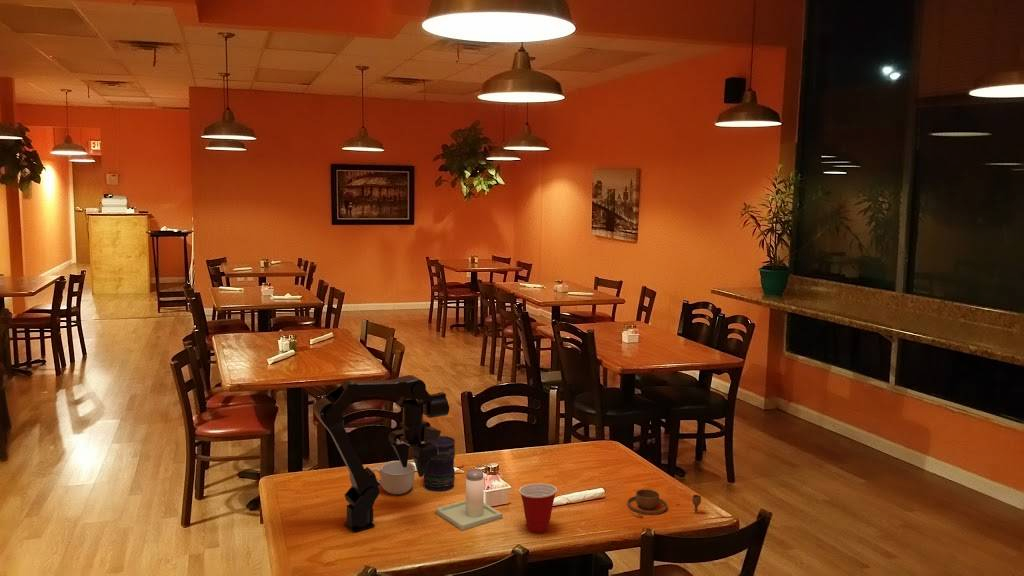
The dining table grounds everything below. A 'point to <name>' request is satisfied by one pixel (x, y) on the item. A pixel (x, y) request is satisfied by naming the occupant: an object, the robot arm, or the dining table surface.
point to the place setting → (654, 502)
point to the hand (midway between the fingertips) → (412, 471)
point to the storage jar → (441, 466)
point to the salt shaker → (474, 493)
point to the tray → (459, 518)
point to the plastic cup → (538, 505)
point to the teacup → (396, 477)
